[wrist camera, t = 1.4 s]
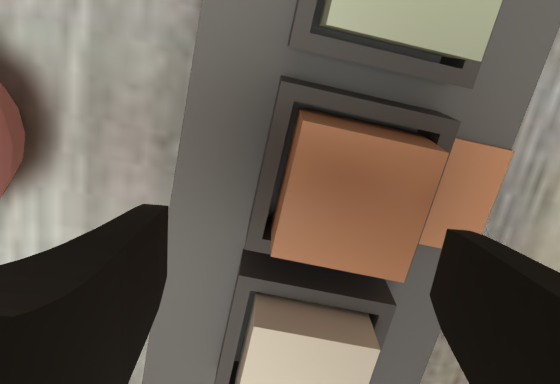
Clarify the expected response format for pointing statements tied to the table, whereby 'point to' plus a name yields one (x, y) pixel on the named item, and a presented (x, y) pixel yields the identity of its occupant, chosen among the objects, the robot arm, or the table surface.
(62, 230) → the table surface
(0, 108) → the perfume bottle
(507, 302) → the robot arm
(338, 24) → the sage button
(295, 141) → the terracotta button
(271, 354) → the cream button
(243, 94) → the control board
